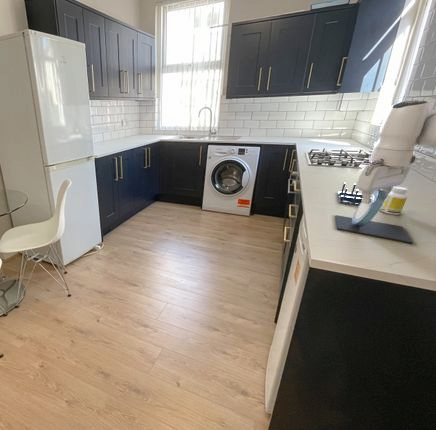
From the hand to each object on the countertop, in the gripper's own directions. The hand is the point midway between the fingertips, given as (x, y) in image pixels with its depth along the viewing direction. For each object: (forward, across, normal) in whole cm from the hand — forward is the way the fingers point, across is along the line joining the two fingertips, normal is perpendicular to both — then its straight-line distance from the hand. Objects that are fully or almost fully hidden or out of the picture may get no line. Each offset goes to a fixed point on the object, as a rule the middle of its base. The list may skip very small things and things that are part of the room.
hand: (373, 201), depth 90 cm
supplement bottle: (+10, +26, +4) cm, 28 cm away
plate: (+9, -1, +2) cm, 9 cm away
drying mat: (+10, +1, -1) cm, 10 cm away
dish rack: (+10, +29, +18) cm, 36 cm away
